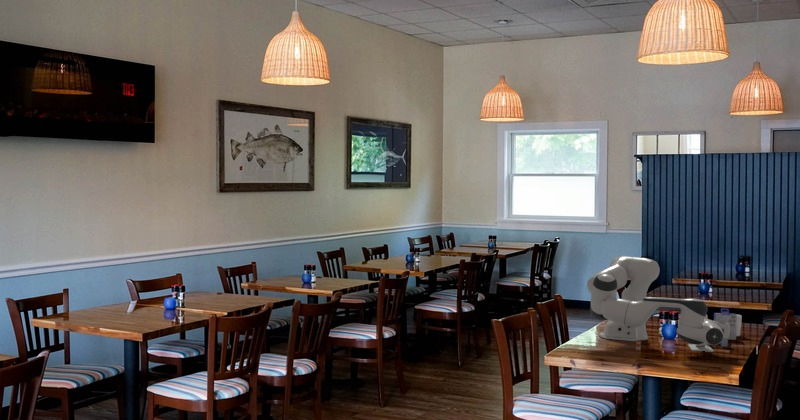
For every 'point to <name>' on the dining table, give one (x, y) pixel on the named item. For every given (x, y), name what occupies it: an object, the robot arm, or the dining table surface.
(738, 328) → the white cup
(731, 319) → the ink cartridge box
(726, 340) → the slotted box
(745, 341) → the dining table surface
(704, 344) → the white rectangular block
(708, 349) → the mat
